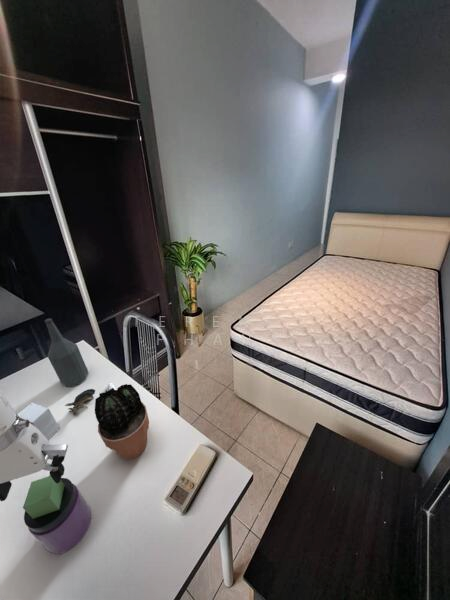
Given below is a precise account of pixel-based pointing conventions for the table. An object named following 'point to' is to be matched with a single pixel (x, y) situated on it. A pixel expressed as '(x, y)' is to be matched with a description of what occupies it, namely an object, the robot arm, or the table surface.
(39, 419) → the small box
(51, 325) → the bottle
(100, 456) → the table surface
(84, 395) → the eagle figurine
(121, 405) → the potted plant
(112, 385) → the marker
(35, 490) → the block
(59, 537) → the jar
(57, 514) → the jar lid
